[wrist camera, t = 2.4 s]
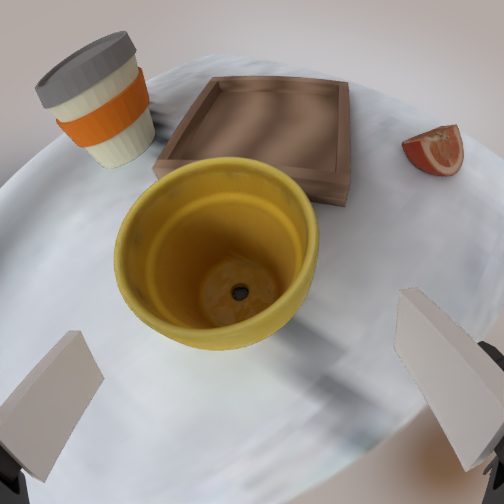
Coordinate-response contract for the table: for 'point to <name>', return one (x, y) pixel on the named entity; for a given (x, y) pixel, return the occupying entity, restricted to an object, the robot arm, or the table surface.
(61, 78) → the reusable coffee cup
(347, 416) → the table surface
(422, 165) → the fruit slice
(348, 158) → the walnut tray
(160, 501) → the table surface
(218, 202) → the plant pot
